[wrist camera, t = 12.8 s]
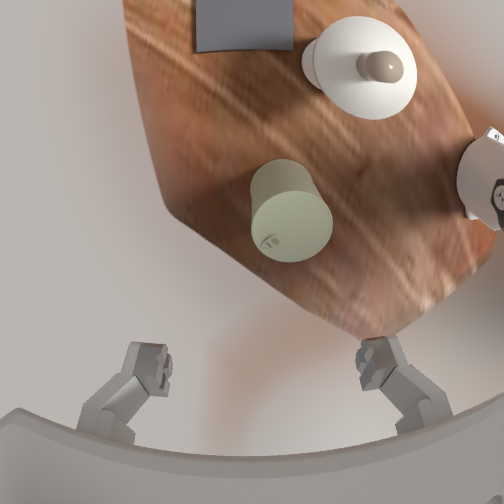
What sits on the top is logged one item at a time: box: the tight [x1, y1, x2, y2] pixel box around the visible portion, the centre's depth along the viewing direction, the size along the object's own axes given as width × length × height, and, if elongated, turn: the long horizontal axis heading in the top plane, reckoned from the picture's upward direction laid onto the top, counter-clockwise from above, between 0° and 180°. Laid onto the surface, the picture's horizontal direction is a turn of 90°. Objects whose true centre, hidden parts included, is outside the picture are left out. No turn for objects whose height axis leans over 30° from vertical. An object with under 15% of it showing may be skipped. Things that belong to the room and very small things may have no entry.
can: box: [250, 159, 333, 262], centre depth 35 cm, size 9×9×12 cm
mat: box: [196, 0, 294, 53], centre depth 24 cm, size 12×12×1 cm
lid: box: [312, 16, 417, 120], centre depth 19 cm, size 11×11×5 cm
